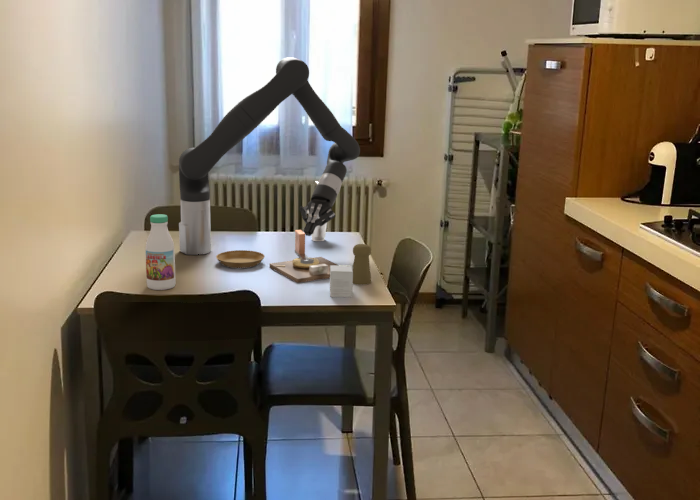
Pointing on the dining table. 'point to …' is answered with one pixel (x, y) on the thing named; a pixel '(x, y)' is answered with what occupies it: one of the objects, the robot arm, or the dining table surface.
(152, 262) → the milk bottle
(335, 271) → the product box
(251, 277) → the dining table surface
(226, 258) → the plant saucer
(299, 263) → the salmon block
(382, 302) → the dining table surface
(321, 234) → the cup with straw
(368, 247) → the pepper mill
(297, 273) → the brown wooden cutting board
